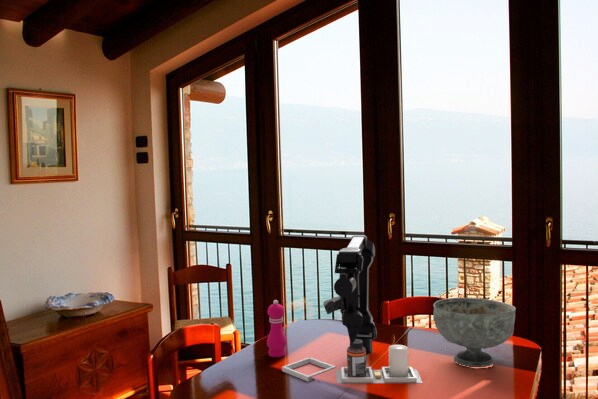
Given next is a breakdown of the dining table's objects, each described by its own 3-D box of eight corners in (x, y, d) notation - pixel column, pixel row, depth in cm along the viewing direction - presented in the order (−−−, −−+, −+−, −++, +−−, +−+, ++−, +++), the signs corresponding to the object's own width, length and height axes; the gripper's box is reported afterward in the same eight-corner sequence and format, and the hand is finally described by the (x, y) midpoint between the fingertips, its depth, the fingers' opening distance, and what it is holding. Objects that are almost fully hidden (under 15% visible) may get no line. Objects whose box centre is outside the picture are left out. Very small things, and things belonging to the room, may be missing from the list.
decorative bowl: (427, 369, 174) (429, 308, 173) (435, 346, 198) (437, 292, 197) (515, 381, 165) (517, 317, 164) (512, 356, 189) (514, 300, 188)
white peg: (396, 371, 172) (396, 343, 171) (412, 375, 167) (411, 347, 167) (385, 376, 168) (384, 347, 167) (400, 381, 163) (400, 352, 163)
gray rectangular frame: (416, 373, 173) (416, 365, 172) (422, 386, 162) (422, 379, 161) (336, 373, 174) (335, 366, 174) (336, 387, 163) (336, 379, 163)
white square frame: (309, 361, 186) (309, 357, 185) (335, 370, 176) (335, 366, 176) (282, 371, 177) (281, 366, 177) (307, 381, 168) (307, 376, 168)
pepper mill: (284, 358, 189) (283, 302, 188) (264, 357, 191) (263, 302, 190) (289, 351, 196) (287, 297, 195) (270, 350, 198) (268, 297, 197)
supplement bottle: (345, 373, 171) (345, 338, 170) (364, 372, 171) (363, 337, 171) (349, 380, 165) (348, 344, 164) (368, 379, 165) (367, 343, 165)
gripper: (324, 283, 179) (325, 329, 180) (324, 297, 160) (326, 348, 161) (357, 282, 178) (358, 328, 179) (362, 296, 160) (363, 347, 161)
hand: (351, 337), depth 170 cm, fingers open, 9 cm apart
